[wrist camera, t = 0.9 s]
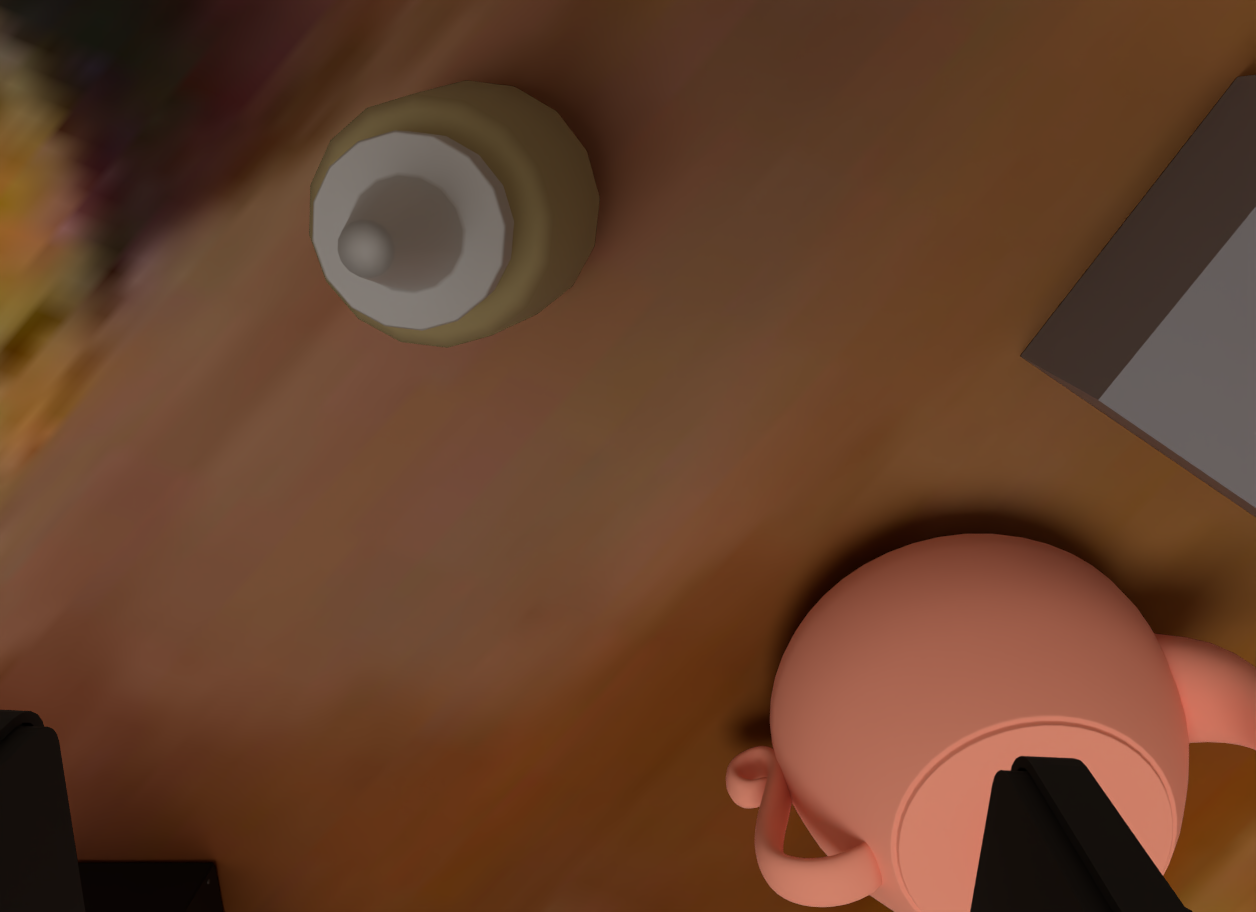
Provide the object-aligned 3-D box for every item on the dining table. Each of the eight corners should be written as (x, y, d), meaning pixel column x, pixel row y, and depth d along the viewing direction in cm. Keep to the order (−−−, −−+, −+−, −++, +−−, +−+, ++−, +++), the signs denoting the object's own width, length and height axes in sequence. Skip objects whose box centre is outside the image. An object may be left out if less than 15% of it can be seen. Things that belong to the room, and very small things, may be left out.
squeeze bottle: (456, 345, 39) (303, 502, 22) (347, 151, 37) (83, 156, 20) (641, 250, 38) (636, 337, 20) (540, 44, 36) (439, -51, 18)
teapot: (1195, 429, 39) (1432, 551, 27) (1256, 754, 44) (1484, 981, 32) (666, 591, 42) (673, 768, 30) (773, 883, 46) (816, 1139, 34)
